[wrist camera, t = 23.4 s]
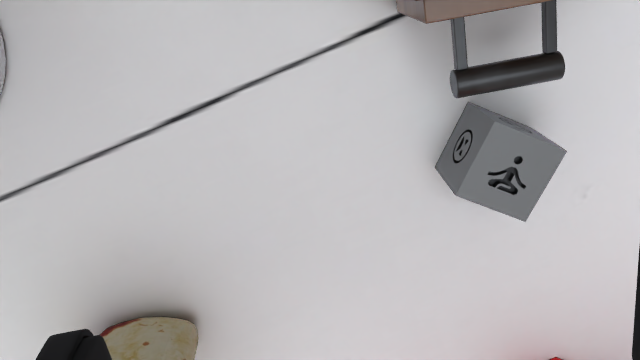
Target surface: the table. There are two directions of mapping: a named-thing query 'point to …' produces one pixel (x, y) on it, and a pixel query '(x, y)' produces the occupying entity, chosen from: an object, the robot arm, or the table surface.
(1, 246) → the table surface
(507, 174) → the dice cube
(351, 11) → the table surface
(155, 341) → the food model
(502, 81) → the drawer
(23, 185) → the table surface
